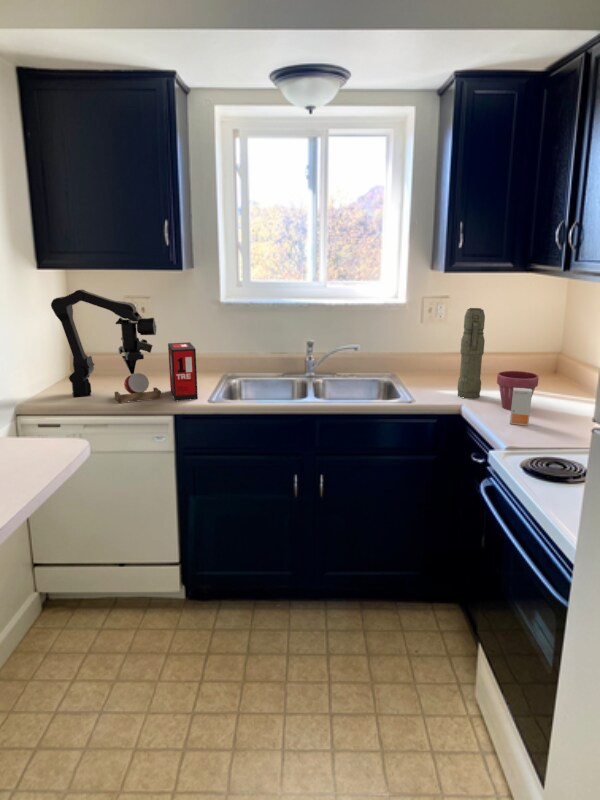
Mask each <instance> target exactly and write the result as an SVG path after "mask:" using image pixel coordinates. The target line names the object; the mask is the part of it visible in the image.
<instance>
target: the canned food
mask: <svg viewBox="0 0 600 800" xmlns="http://www.w3.org/2000/svg"><path fill="white" fill-rule="evenodd" d="M123 385H124V389H125V390H126V391H127V392H128V394H132V393H141V392H147V390H148V388H149V386H150V381H149V378H148V376H146V375H145V374H144V373H142V372H134V374H130V375H128V376H127V377H126V378H125V380H124V383H123Z"/></svg>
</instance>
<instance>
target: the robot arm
mask: <svg viewBox="0 0 600 800" xmlns="http://www.w3.org/2000/svg"><path fill="white" fill-rule="evenodd" d="M80 302H84V303H86V304H89V305H93V306H96V307H98V308H103V309H105V310H108V311H110V312H112V313H113V314H114V315H117V316H118V317H119V318H118V319H117V321H116V322H115V325H120V329H121V337H120V340H121V341H122V345H120V346H119V347H118V354H119V355H121V354H122V353H123V355H121V358H122V359H123V361H124V363H125V365H126V367H127V370H128V371H129V373H130V375H132V374H134V373H135V370H136V364H137V361H138V360H139V361H140V360H144V359H145V358H144V353H143V352H141V351H145V352H146V353H150V354H151V352H152V349H153V344H151V343H149V342H148V340H147V339H144V338H142V339H141V340H140V338H139V337H138V334H140V336H156V335H157V325H156V321H155V317H149V318H147V317H146V318H145V317H144V318H143V317H142V316H141V314H140V313H139V312H138V311H137V307H136V306H135V304H134V303H132V302H128V301H127V302H126V301H122V300H121V301H120V300H114V299H110V298H107V297H105V296H101V295H98V294H95V293H92V292H89V291H86V290H85V289H83V288H82V289H77V290H75V291H74V292H72V293H70V294H67V295H65V296H59V297H56V298H53V300H52V301H51V302H50V306H51V307H50V308H51V310H52V312H53V313H54V314H55V316H56V317H57V319H58V320H59V322H61V326H62V329H63V331H64V334H65V337H66V340H67V343H68V345H69V348H70V352H71V354H72V365H73V366H72V367H73V372H72V373H71V374H70V376H68V379H69V382H70V383H71V390H72V392H71V395H72V396H73V398H78V397H88V396H91V395H92V394H91V393H92V385H91V382H90V379H89V378H90V375H91V374H92V373H93V372H94V369H95V367H94V366H95V363H94V361H93V356H92V355H89V356H88V355H87V354H86V353H85V350H84V346H83V345H82V342H81V339H80V335H79V333H78V330H77V327H76V324H75V322H74V316H73V315H74V309H73V305H75V304H78V303H80Z"/></svg>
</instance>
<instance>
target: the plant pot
mask: <svg viewBox="0 0 600 800" xmlns="http://www.w3.org/2000/svg"><path fill="white" fill-rule="evenodd" d="M496 384H497V385H498V387H499V393H500V402H501V407H502V409H505V410H508V411H511V407H512V398H513V388H526V389H532V396H533V395H534V392H535V389H536V388H537V387H538V386H539V375H538V374H536V373H533V372H529V371H521V370H518V371H517V370H507V371H506V370H504V371H501V372H498V373H497V377H496Z"/></svg>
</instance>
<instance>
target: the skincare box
mask: <svg viewBox="0 0 600 800" xmlns="http://www.w3.org/2000/svg"><path fill="white" fill-rule="evenodd" d="M532 398H533V395H532V389H526V388H513V398H512V407H511V410H510V415H509V416H510V417H509V424H510V425H519V426H525V427H528V426H529V421H530V413H531V404H532Z"/></svg>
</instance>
